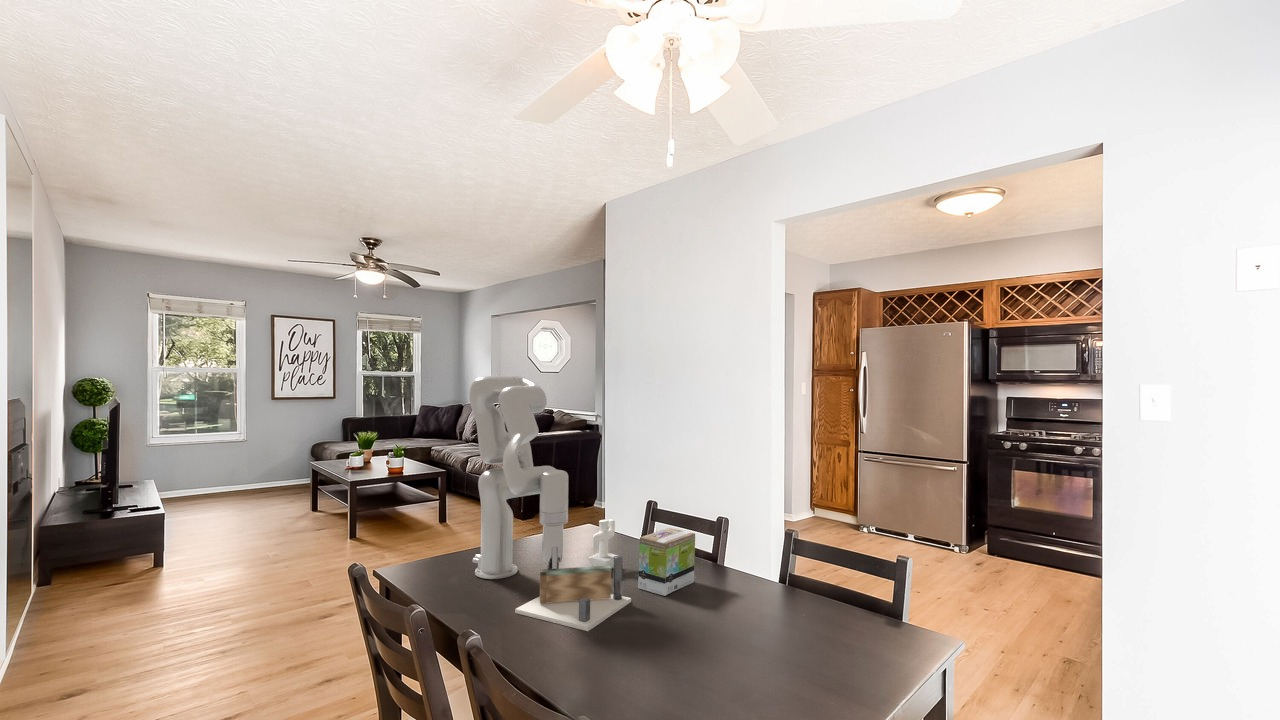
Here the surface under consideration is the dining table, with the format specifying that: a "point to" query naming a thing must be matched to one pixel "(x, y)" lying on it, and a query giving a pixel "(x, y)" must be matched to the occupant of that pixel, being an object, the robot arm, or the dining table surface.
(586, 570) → the gate
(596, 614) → the board
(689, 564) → the tea box
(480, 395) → the robot arm
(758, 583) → the dining table surface
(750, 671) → the dining table surface
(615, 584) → the hinge post
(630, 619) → the dining table surface
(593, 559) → the figurine
